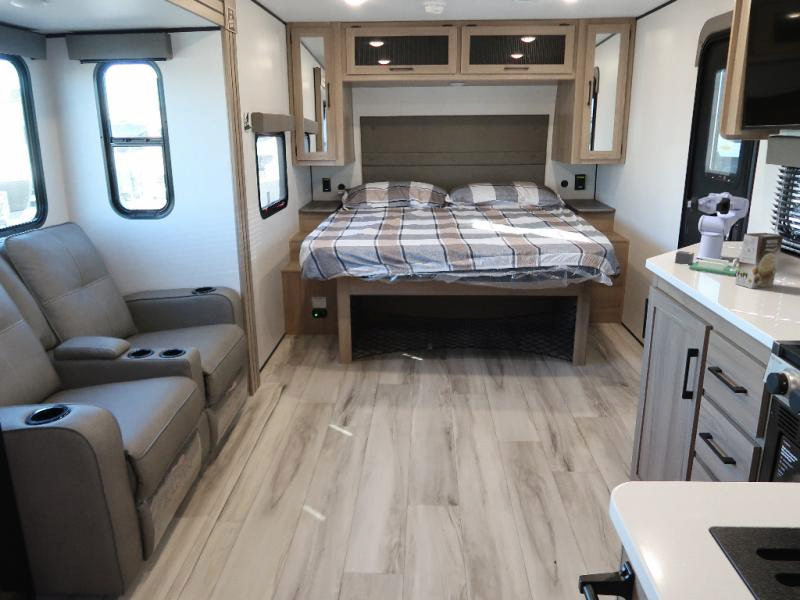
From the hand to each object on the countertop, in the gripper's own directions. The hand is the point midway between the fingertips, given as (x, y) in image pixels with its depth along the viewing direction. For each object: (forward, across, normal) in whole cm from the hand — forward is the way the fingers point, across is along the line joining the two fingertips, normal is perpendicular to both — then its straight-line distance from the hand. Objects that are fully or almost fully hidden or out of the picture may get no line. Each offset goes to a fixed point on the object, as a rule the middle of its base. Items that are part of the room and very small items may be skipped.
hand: (704, 206), depth 206 cm
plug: (-5, -6, +21) cm, 22 cm away
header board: (-2, +5, +21) cm, 22 cm away
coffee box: (+12, +19, +23) cm, 32 cm away
